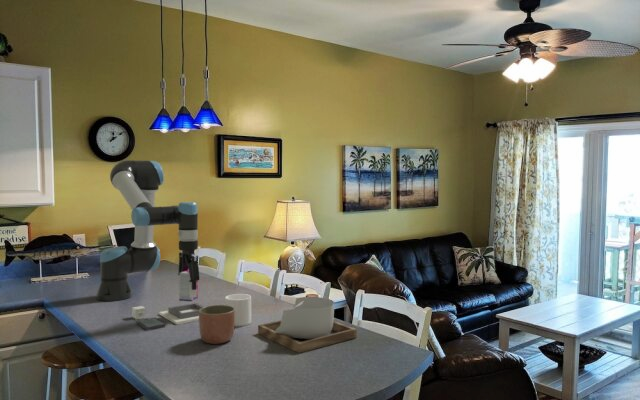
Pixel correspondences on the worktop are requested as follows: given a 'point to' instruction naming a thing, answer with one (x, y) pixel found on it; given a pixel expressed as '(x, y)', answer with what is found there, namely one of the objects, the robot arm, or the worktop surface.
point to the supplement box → (185, 287)
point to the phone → (150, 323)
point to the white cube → (138, 312)
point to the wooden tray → (342, 335)
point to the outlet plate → (182, 313)
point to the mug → (240, 308)
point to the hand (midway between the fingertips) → (188, 295)
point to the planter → (216, 323)
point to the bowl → (308, 318)
